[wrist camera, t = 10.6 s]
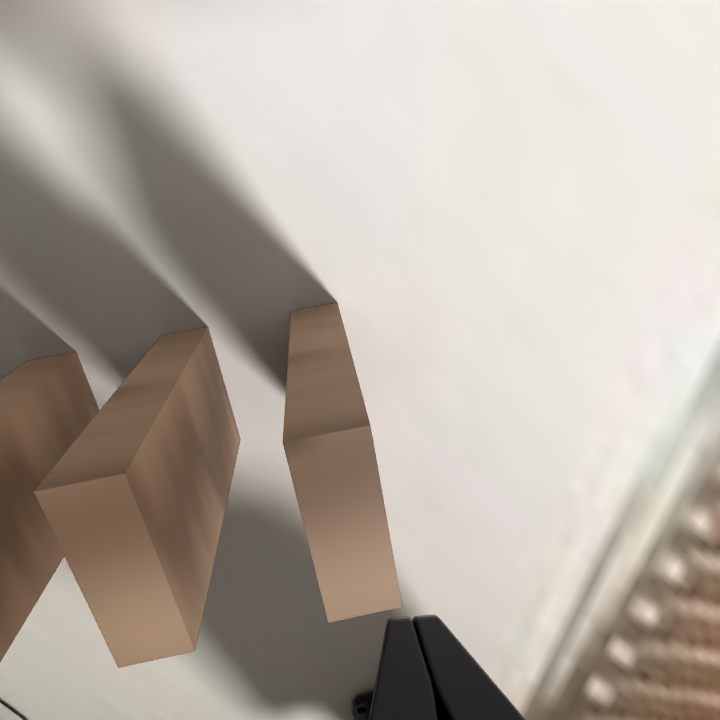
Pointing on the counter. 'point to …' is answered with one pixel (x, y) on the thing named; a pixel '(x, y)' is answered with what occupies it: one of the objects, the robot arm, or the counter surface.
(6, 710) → the skincare box
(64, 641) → the counter surface
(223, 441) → the domino
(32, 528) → the domino
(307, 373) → the domino
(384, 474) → the counter surface
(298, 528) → the counter surface
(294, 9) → the counter surface
